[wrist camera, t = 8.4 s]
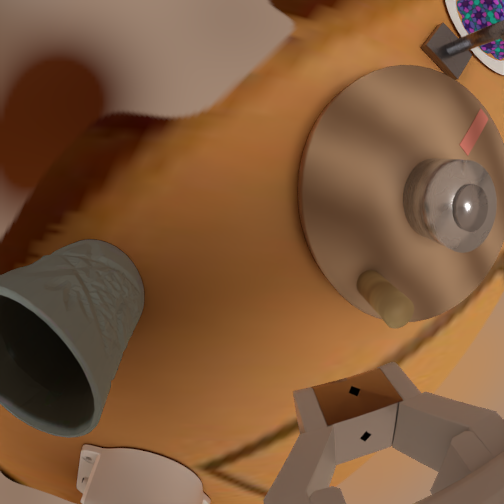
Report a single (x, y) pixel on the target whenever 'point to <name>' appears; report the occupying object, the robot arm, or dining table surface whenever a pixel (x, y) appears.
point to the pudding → (480, 26)
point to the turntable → (394, 191)
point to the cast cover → (450, 202)
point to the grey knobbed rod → (458, 46)
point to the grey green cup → (66, 334)
